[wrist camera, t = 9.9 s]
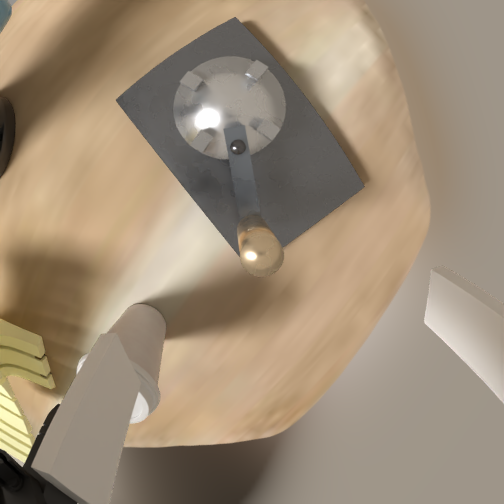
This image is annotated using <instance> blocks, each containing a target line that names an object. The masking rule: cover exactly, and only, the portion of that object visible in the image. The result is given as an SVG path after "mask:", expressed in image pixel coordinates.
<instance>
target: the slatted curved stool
mask: <svg viewBox="0 0 504 504" xmlns="http://www.w3.org/2000/svg"><path fill="white" fill-rule="evenodd" d="M44 354H45V349H44V345H43V340H42V336H39V335H37V334H34V333H32V332H29V331H27V330H25V329H22V328H20V327H18V326H15V325H13V324H11V323H9V322H6V321H4V320H2V319H0V448H1V449H3V450H5V451H6V452H8V453H9V454H10V455H12V456H14V457H15V458H17V459H19V460H21V461H22V462H24V463H25V461H26V459H27V457H28V455H29V452H30V450H31V448H32V446H33V444H34V442H35V438H34V436H33V435H32V434H31V433H30V432H31V430H32V427H31V425H30V423H29V421H28V419H27V418H26V416H25V415H23V413H24V412H23V410H22V408H21V406H20V404H19V402H18V400H17V398H15V397H14V395H15V394H14V392H13V390H12V387H11V385H10V383H9V381H8V378H6V376H17V377H21V378H24V379H27V380H29V381H32V382H34V383H37V384H39V385H42V386H44V387H46V388H49V389H52V388H54V387H56V386H55V383H54V380H53V377H52V374H50V373H49V372H50V371H51V370H50V367H49V364H48V360H47V356H44Z"/></svg>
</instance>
